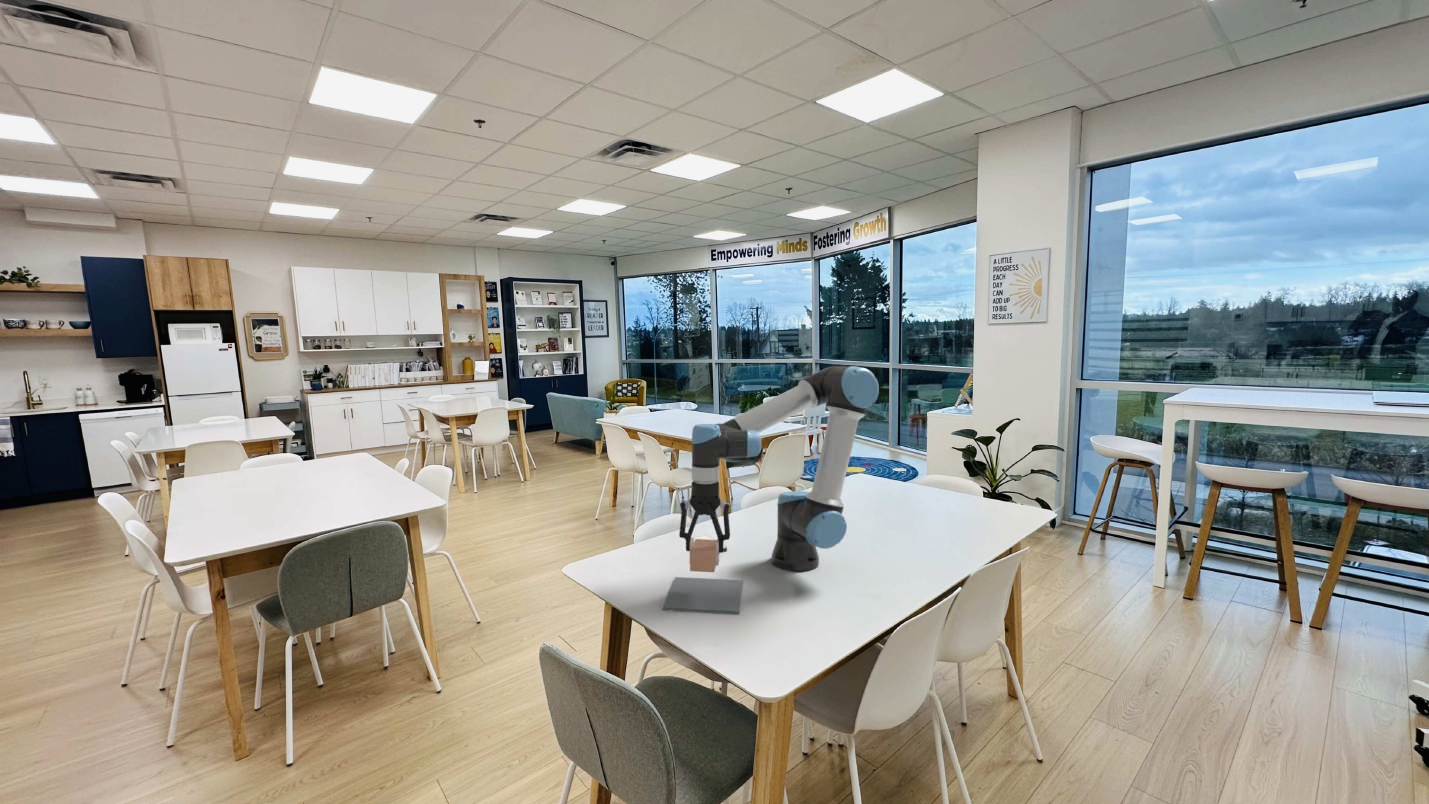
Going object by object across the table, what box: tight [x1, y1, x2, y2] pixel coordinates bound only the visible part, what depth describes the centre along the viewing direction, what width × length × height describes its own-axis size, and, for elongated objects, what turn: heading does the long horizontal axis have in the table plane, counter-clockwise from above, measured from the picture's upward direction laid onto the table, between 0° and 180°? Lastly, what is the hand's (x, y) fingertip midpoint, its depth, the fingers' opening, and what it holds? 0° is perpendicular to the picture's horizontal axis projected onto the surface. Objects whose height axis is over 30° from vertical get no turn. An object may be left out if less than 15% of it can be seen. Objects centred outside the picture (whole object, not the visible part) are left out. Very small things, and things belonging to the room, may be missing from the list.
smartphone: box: [692, 535, 728, 553], centre depth 195 cm, size 9×2×16 cm
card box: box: [689, 539, 717, 573], centre depth 154 cm, size 10×6×6 cm, turn 173°
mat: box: [662, 576, 744, 615], centre depth 155 cm, size 20×20×1 cm
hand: (704, 562), depth 154 cm, fingers closed on card box, 6 cm apart
